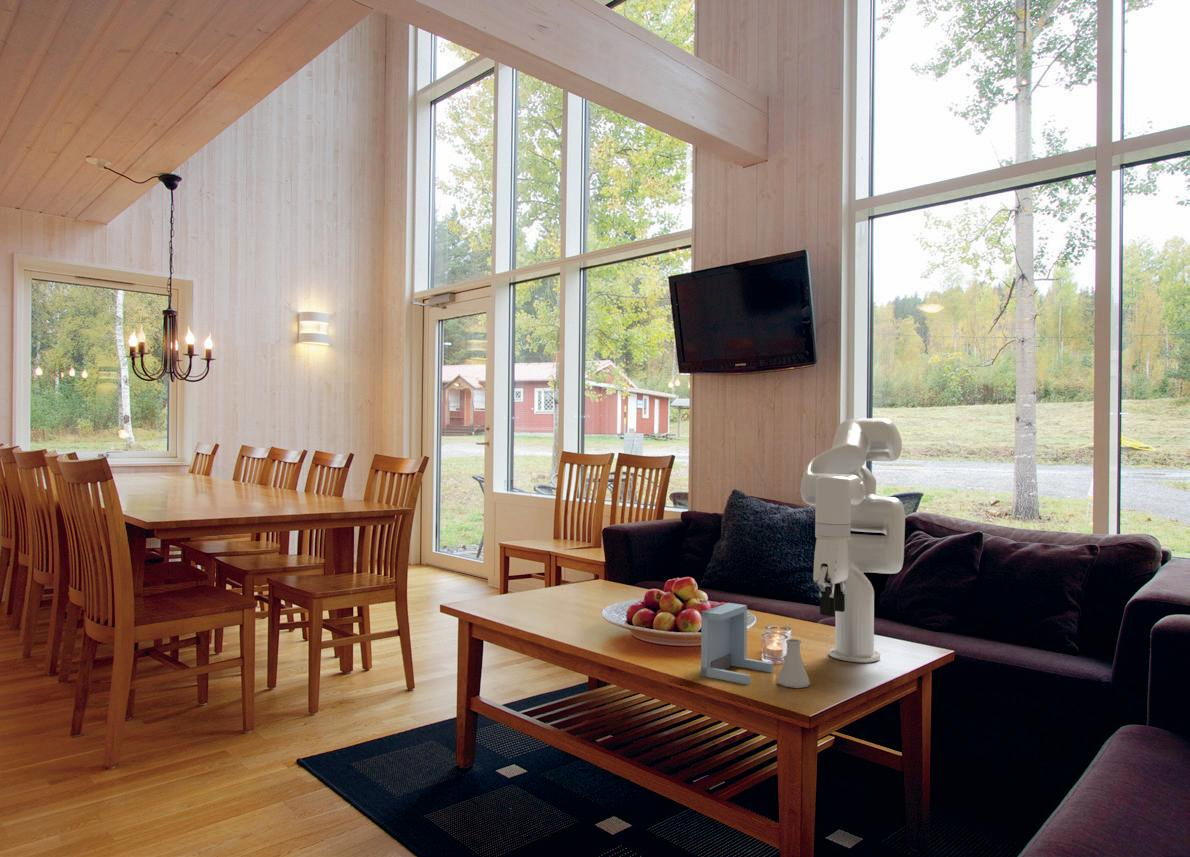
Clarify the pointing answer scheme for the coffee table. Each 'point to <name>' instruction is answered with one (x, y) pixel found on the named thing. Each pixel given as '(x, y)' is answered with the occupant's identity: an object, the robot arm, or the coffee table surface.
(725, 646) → the blue frame
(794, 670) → the flask
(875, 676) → the coffee table surface
